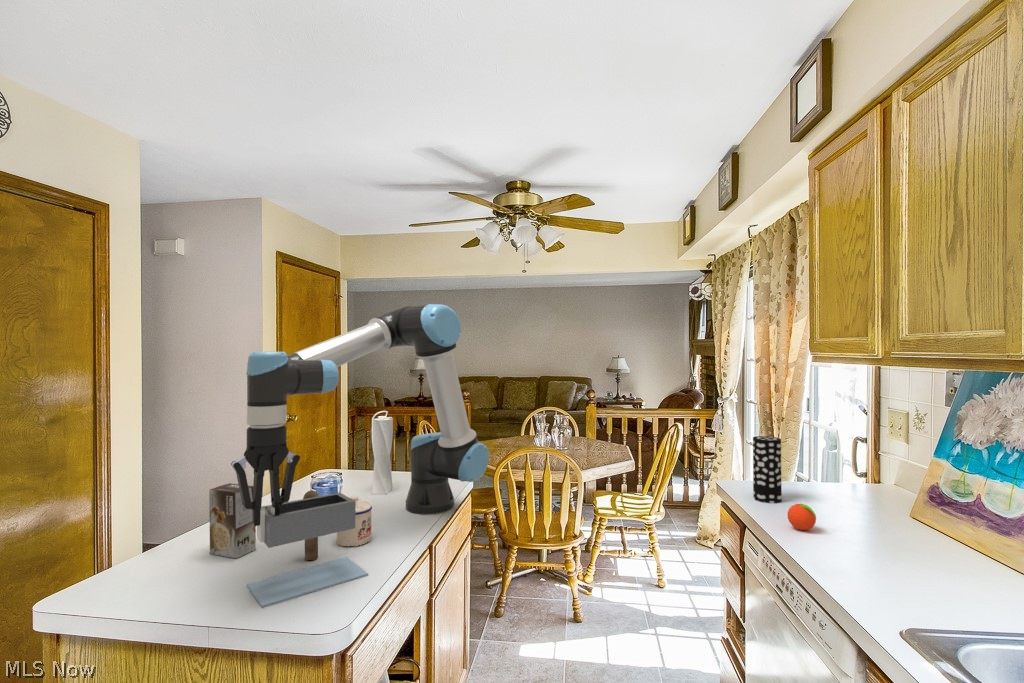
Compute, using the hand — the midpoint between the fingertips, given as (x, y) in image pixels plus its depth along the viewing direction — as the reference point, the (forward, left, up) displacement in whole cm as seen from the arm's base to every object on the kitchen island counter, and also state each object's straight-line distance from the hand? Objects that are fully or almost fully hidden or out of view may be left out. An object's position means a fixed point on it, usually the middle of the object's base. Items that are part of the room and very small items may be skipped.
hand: (266, 538), depth 108 cm
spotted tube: (-144, +38, -11) cm, 149 cm away
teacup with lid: (-27, -17, -11) cm, 33 cm away
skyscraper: (-52, -53, -11) cm, 75 cm away
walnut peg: (-13, -12, -11) cm, 21 cm away
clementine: (-123, +57, -11) cm, 136 cm away
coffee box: (0, -29, -11) cm, 31 cm away
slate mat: (-9, 0, -11) cm, 14 cm away
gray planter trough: (-8, 0, 0) cm, 8 cm away
